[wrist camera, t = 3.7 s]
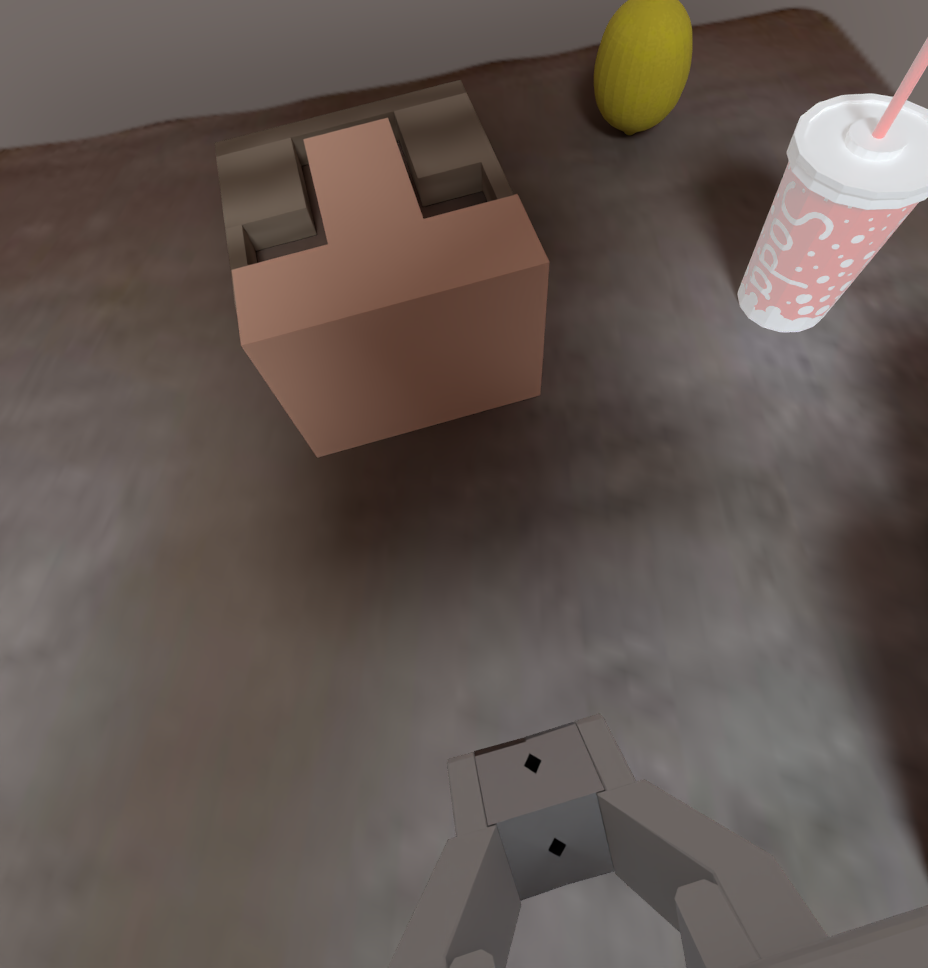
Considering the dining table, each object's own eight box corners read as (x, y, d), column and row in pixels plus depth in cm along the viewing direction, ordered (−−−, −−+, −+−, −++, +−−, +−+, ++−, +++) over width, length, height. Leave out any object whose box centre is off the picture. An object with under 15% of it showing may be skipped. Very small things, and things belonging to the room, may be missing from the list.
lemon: (662, 167, 36) (699, 21, 29) (577, 154, 37) (592, 11, 30) (680, 113, 38) (718, -36, 31) (598, 102, 39) (617, -43, 32)
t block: (540, 395, 30) (549, 262, 22) (317, 457, 29) (241, 345, 21) (482, 250, 34) (471, 96, 26) (288, 302, 34) (217, 161, 26)
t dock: (529, 256, 34) (530, 229, 32) (250, 332, 33) (235, 308, 31) (463, 110, 40) (460, 80, 39) (228, 170, 40) (214, 142, 38)
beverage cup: (707, 267, 32) (830, -41, 20) (814, 249, 32) (1005, -72, 20) (745, 352, 30) (915, 60, 17) (862, 333, 30) (1118, 25, 17)
